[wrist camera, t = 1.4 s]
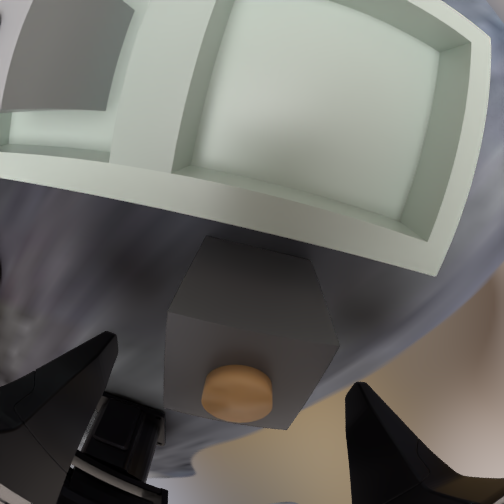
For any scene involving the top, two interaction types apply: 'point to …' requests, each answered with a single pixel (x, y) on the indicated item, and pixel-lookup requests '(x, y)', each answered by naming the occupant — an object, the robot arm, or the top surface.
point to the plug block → (246, 336)
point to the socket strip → (282, 122)
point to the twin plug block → (59, 53)
